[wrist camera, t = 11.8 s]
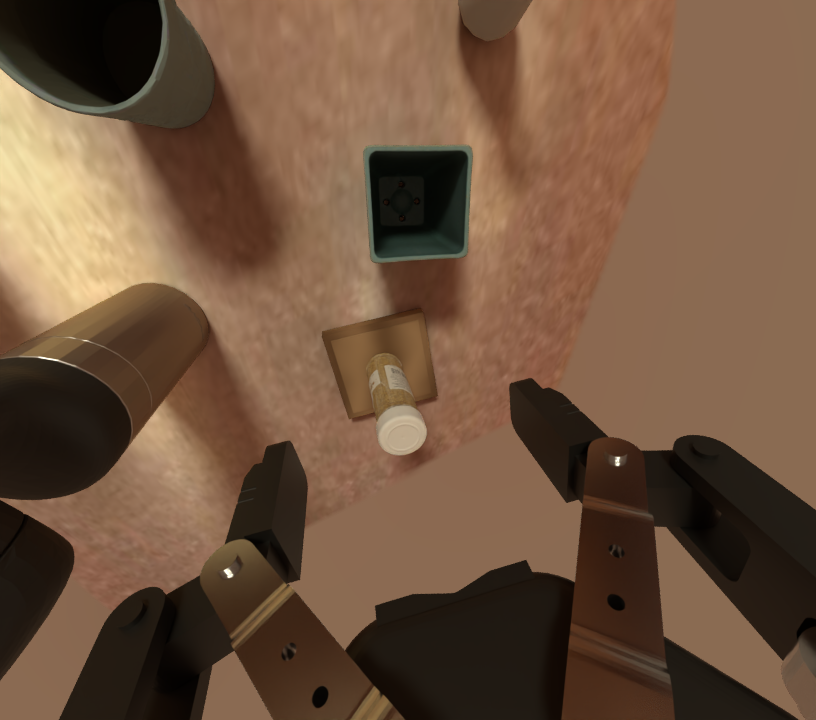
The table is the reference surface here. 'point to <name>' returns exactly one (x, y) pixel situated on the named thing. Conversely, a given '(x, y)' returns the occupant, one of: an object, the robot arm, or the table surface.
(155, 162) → the table surface
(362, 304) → the table surface
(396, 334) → the brown rectangular tray
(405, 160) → the flower pot
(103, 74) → the green round cup
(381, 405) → the sprinkles bottle
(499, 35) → the salt shaker
